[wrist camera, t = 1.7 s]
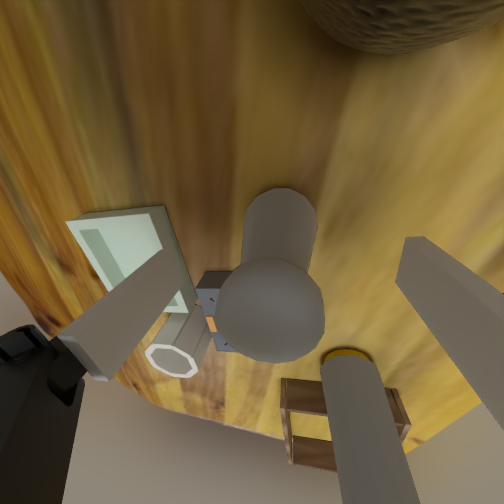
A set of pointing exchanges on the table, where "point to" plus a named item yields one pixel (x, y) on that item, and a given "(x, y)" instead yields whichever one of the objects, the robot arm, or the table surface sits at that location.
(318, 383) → the book tray
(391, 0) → the planter
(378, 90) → the table surface
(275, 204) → the salt shaker
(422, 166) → the table surface
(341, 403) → the soap bottle
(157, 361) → the octagonal gray cup
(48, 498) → the robot arm
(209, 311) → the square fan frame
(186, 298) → the mint green tray
